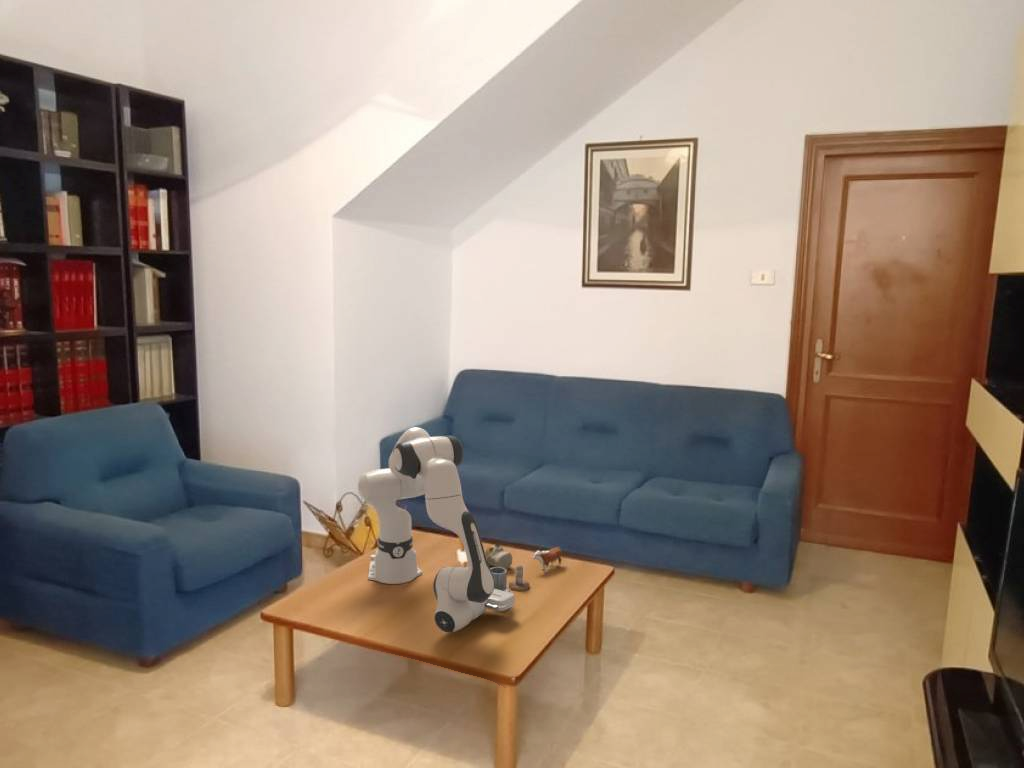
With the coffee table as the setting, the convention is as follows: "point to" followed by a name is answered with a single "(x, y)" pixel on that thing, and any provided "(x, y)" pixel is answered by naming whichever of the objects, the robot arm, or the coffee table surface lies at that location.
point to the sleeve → (499, 577)
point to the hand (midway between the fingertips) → (495, 586)
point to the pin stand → (519, 581)
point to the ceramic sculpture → (498, 557)
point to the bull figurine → (548, 557)
